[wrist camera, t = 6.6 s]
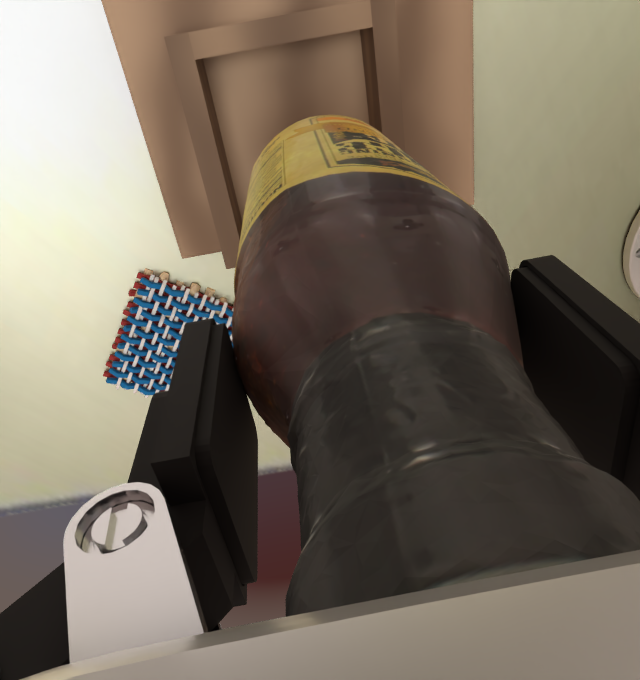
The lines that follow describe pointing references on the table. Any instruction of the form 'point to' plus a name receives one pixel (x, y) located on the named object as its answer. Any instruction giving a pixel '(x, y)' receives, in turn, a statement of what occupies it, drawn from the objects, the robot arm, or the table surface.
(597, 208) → the table surface
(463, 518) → the sauce bottle
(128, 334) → the woven mat
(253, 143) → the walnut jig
